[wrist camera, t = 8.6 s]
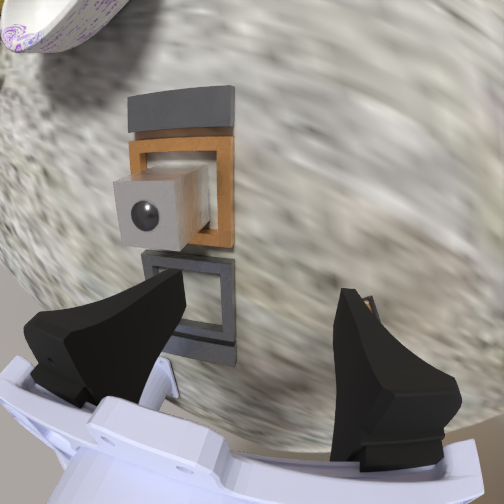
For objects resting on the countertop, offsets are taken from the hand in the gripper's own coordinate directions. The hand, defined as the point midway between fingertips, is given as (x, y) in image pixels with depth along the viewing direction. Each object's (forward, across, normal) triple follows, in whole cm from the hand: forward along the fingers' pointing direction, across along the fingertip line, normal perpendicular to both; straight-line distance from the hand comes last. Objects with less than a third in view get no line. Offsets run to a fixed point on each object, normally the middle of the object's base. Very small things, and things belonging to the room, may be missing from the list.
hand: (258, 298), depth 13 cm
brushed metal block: (+10, +8, -2) cm, 13 cm away
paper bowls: (+11, +17, -23) cm, 31 cm away
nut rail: (+10, +8, +3) cm, 13 cm away
